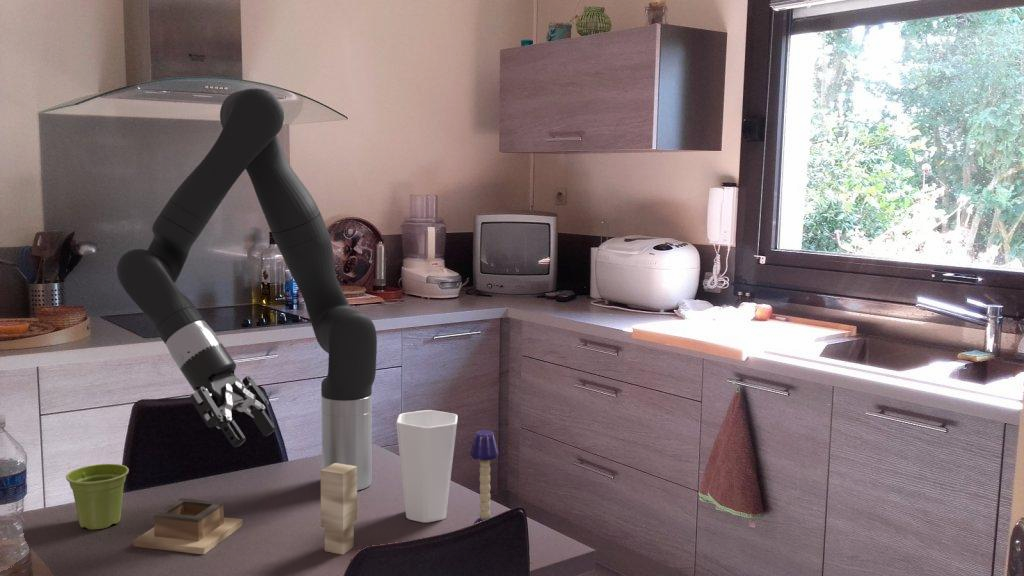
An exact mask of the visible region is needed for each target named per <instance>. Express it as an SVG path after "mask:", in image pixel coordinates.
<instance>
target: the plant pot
mask: <svg viewBox="0 0 1024 576" xmlns="http://www.w3.org/2000/svg"><path fill="white" fill-rule="evenodd" d="M129 469H130V468H129V467H127V465H124V464H119V463H98V464H92V465H86V466H83V467H79V468H78V467H77V468H76V469H74V470H71V471H70V472H68V473H67V474H66V475H65V479H66V481H67V482H68V483H69V487H70V489H71V490H72V495H73V499H74V503H75V508H76V512H77V517H78V518H77V519H78V522H79V526H80V527H81V528H86V529H87V530H100V529H101V530H102V529H106V528H109V527H111V525H113V524H115V525H117V524H118V523H119V522H120V521H121V516H122V504H123V498H124V497H123V495H124V485H125V482H126V479H127V475H128V474H129V471H130V470H129Z"/></svg>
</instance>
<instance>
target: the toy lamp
mask: <svg viewBox="0 0 1024 576" xmlns="http://www.w3.org/2000/svg"><path fill="white" fill-rule="evenodd" d="M469 455H470V457H471V458H472V459H473V460H476V461H478V462H479V465H480V466H479V474H480V475H479V482H480V484H479V500H480V503H479V509H480V510H479V518H477V519H476V520H475V521H474V522H473V524H475V523H477V522H480V521H483V520H486V519H488V518H491V511H490V510H491V493H490V491H491V487H492V486H491V484H490V483H491V475H490V474H491V466H490V464H491V461H492V460H493V461H494V460H496V459H497V458H498V457H499V449H498V445H497V441H496V438H495V434H494V432H493V431H491V430H488V429H483V430H478V431H476V432H475V433H474V437H473V440H472V445H471V449H470V453H469Z"/></svg>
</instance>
